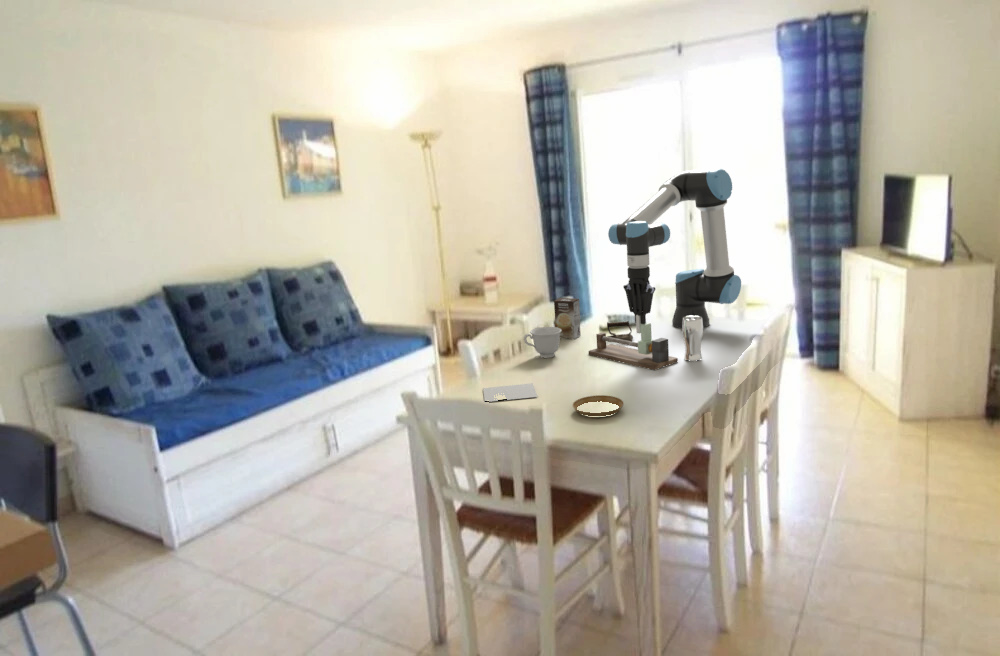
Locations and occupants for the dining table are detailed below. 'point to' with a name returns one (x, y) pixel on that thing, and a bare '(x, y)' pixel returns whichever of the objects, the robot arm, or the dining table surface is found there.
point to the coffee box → (567, 317)
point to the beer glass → (692, 337)
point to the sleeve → (645, 339)
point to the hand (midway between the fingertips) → (640, 332)
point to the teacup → (545, 340)
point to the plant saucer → (598, 398)
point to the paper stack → (510, 392)
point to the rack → (634, 352)
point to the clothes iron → (623, 336)
